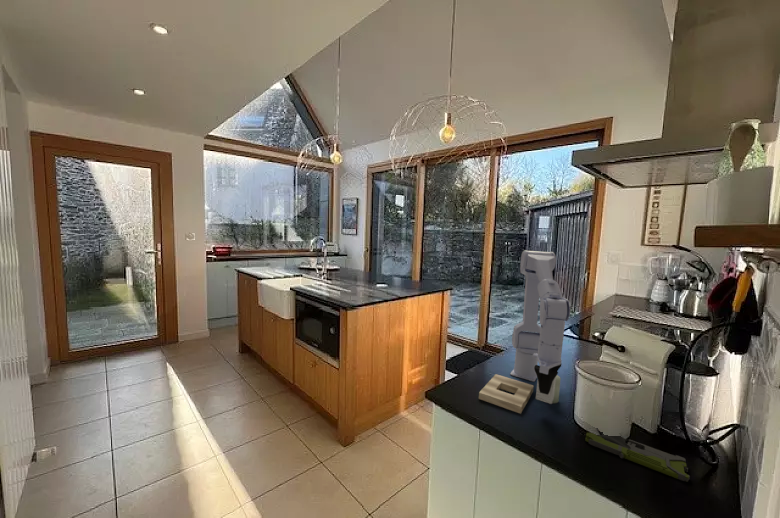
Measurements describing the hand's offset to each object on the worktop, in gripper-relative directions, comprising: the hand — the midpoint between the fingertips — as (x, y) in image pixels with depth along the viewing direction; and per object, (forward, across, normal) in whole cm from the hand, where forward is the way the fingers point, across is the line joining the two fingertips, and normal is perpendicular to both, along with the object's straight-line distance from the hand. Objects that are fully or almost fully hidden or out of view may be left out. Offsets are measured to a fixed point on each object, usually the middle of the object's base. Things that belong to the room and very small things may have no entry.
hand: (545, 389), depth 90 cm
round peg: (+7, -10, 0) cm, 13 cm away
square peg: (+2, 0, 0) cm, 2 cm away
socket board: (+7, -4, -11) cm, 14 cm away
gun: (+8, +1, +20) cm, 22 cm away
